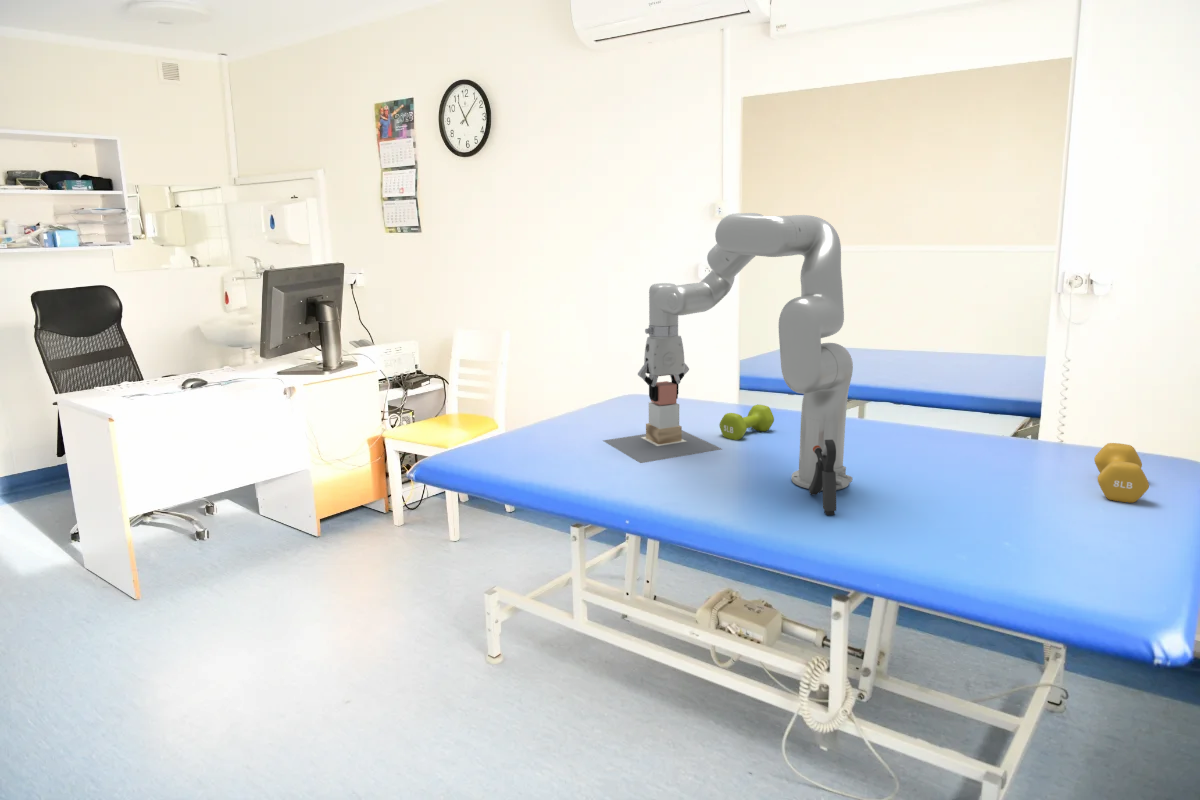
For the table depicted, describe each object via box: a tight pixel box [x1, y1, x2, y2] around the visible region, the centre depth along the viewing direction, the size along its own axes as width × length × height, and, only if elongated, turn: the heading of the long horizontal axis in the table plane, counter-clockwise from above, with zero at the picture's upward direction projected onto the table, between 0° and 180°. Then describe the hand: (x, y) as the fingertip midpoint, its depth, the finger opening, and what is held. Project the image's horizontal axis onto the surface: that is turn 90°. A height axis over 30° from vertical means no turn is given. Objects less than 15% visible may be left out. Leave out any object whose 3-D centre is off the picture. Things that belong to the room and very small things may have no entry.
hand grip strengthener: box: [808, 440, 837, 516], centre depth 160 cm, size 2×12×15 cm, turn 2°
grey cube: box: [648, 401, 680, 429], centre depth 207 cm, size 6×6×6 cm
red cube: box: [650, 380, 678, 405], centre depth 206 cm, size 5×5×5 cm
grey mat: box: [602, 430, 723, 464], centre depth 204 cm, size 22×24×1 cm
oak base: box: [645, 422, 683, 444], centre depth 209 cm, size 7×7×4 cm
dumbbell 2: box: [1094, 442, 1150, 504], centre depth 167 cm, size 19×9×8 cm, turn 150°
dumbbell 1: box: [718, 404, 775, 441], centre depth 213 cm, size 16×8×7 cm, turn 132°
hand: (663, 398), depth 206 cm, fingers open, 5 cm apart
